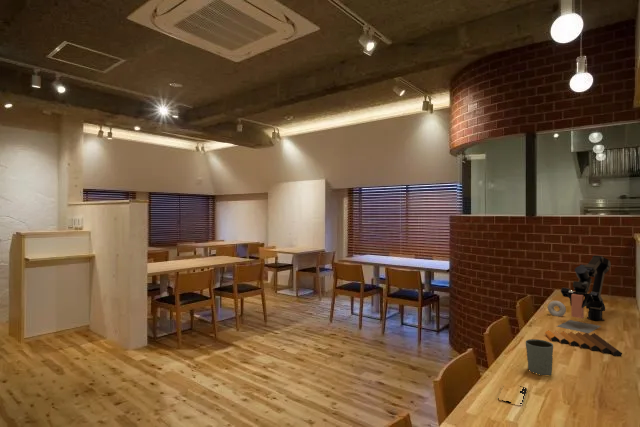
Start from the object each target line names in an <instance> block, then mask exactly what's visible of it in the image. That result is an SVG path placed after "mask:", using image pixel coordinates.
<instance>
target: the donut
mask: <svg viewBox="0 0 640 427" xmlns="http://www.w3.org/2000/svg"><path fill="white" fill-rule="evenodd" d="M555 307H557V308H559V310H558V311H557V310H555ZM547 310H548V312H549V314H550V315H552V316H554V317H562V316H564V315H565V314H566V312H567V308H566V306H565V304H564V303H563V302H561V301H559V300H551V301H550V302H549V303H548V305H547Z"/></svg>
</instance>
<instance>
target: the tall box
mask: <svg viewBox="0 0 640 427" xmlns="http://www.w3.org/2000/svg"><path fill="white" fill-rule="evenodd" d="M584 298H585V297H584V295H579V294H571V304H570V307H571V312H570V313H571V317H572V318H579V319H583V318H584V317H585V314H584V311H585V310H584V308H585V307H584V308H582V303H583V301H584Z"/></svg>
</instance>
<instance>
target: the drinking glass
mask: <svg viewBox="0 0 640 427" xmlns="http://www.w3.org/2000/svg"><path fill="white" fill-rule="evenodd" d="M525 349H526V359H527V368H528V369H529V370H530V371H531V372H534V373H537V374H540V375H539V376H541V375H549V376H551V375H552V373H553V359H554V357H553V354H554V344H553V343H552V342H550V341H547V340H542V339H536V338H535V339H534V338H533V339H527V340H525ZM528 369H527V370H528ZM529 370H528V371H529ZM530 371H529V372H530ZM531 372H530V373H531Z"/></svg>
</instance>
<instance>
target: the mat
mask: <svg viewBox="0 0 640 427" xmlns="http://www.w3.org/2000/svg"><path fill="white" fill-rule="evenodd" d="M556 327H557V328H562V329H565V330H566V329H567V330H572V331H576V332H579V333H584V334H585V333H588V334H590V333H592V332H594V331H595V330H597V329H599V328H602V326H601V325H597V324H593V323H588V322H582V321H577V320H571V319H569V320H567V321H565V322H562V323H561V324H558V325H556Z"/></svg>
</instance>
